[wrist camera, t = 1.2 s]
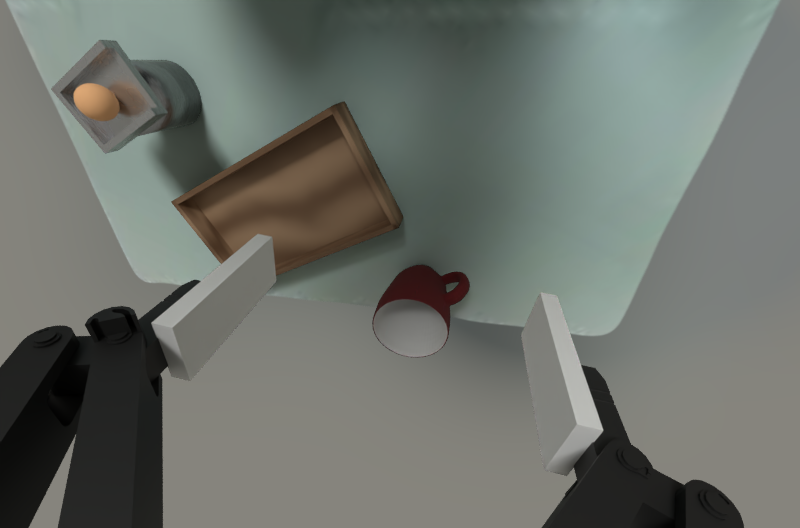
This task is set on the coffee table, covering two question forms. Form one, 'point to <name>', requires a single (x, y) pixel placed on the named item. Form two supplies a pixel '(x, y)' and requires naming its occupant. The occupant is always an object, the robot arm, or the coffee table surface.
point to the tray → (296, 195)
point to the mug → (417, 311)
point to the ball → (96, 102)
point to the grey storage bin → (131, 94)
